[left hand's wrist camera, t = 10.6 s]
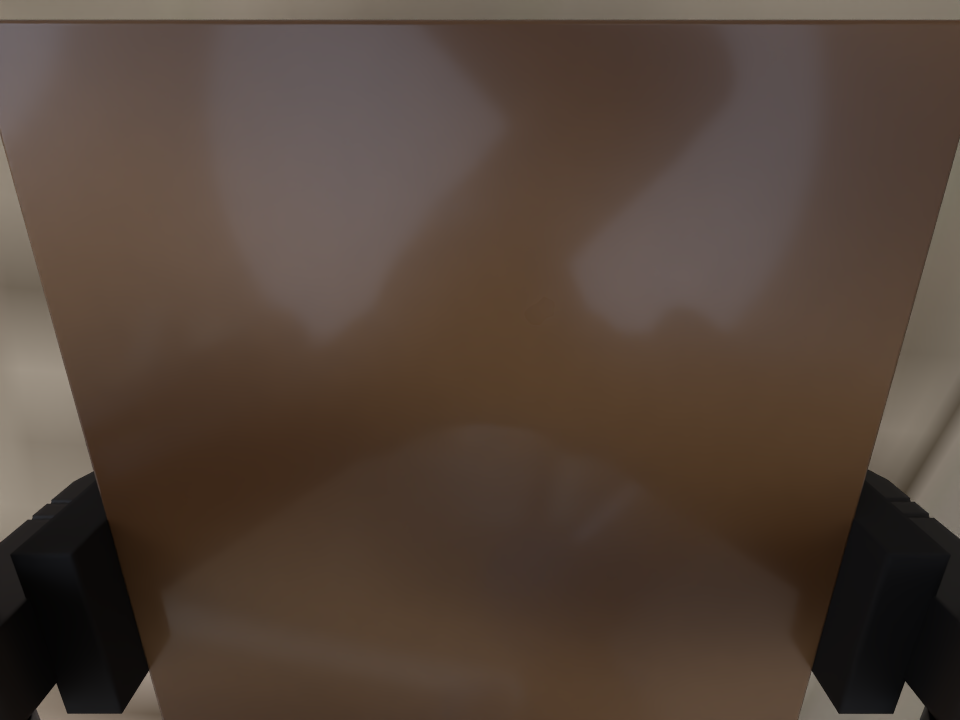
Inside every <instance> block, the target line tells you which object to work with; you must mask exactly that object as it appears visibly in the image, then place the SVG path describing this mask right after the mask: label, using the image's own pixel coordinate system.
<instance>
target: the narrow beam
mask: <svg viewBox="0 0 960 720" xmlns="http://www.w3.org/2000/svg"><path fill="white" fill-rule="evenodd" d="M0 135H1V138H2V142H3V146H4V149H5V153H6V157H7V160H8V164H9V167H10V171H11V175H12V178H13V182H14V185H15V189H16V193H17V196H18V200H19V203H20V207H21V211H22V214H23V218H24V221H25V225H26V229H27V232H28V236H29V239H30V243H31V247H32V250H33V254H34V257H35V261H36V265H37V268H38V272H39V275H40V279H41V283H42V286H43V290H44V294H45V297H46V301H47V304H48V308H49V312H50V315H51V319H52V322H53V326H54V330H55V333H56V337H57V340H58V344H59V348H60V351H61V355H62V358H63V362H64V366H65V369H66V373H67V376H68V380H69V384H70V387H71V391H72V394H73V398H74V402H75V405H76V409H77V413H78V416H79V420H80V423H81V427H82V431H83V434H84V438H85V441H86V445H87V449H88V452H89V456H90V459H91V463H92V467H93V470H94V474H95V477H96V481H97V485H98V488H99V492H100V495H101V499H102V503H103V506H104V510H105V513H106V517H107V520H108V524H109V528H110V531H111V535H112V538H113V542H114V546H115V549H116V553H117V556H118V560H119V564H120V567H121V571H122V575H123V578H124V582H125V585H126V589H127V593H128V596H129V600H130V603H131V607H132V611H133V614H134V618H135V621H136V625H137V629H138V632H139V636H140V639H141V643H142V647H143V650H144V654H145V657H146V661H147V665H148V668H149V672H150V676H151V679H152V683H153V687H154V690H155V694H156V697H157V701H158V705H159V708H160V712H161V715H162V719H163V720H798V718H799V714H800V711H801V707H802V704H803V700H804V696H805V693H806V689H807V686H808V682H809V678H810V675H811V671H812V667H813V663H814V660H815V656H816V653H817V649H818V645H819V642H820V638H821V635H822V631H823V627H824V624H825V620H826V617H827V613H828V609H829V606H830V602H831V599H832V595H833V591H834V588H835V584H836V581H837V577H838V573H839V570H840V566H841V563H842V559H843V555H844V552H845V548H846V545H847V541H848V537H849V534H850V530H851V527H852V523H853V519H854V516H855V513H856V509H857V506H858V502H859V498H860V495H861V491H862V488H863V484H864V481H865V477H866V473H867V470H868V466H869V463H870V459H871V455H872V452H873V448H874V445H875V441H876V437H877V434H878V430H879V427H880V423H881V419H882V416H883V412H884V409H885V405H886V401H887V398H888V394H889V391H890V387H891V383H892V380H893V376H894V373H895V369H896V365H897V362H898V358H899V355H900V351H901V347H902V344H903V340H904V337H905V333H906V329H907V326H908V322H909V319H910V315H911V311H912V308H913V304H914V301H915V297H916V293H917V290H918V286H919V283H920V279H921V275H922V272H923V268H924V265H925V261H926V257H927V254H928V250H929V247H930V243H931V240H932V236H933V232H934V229H935V225H936V222H937V218H938V214H939V211H940V207H941V204H942V200H943V196H944V193H945V189H946V186H947V182H948V178H949V175H950V171H951V168H952V164H953V160H954V157H955V153H956V150H957V146H958V142H959V139H960V20H0Z"/></svg>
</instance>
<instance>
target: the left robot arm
mask: <svg viewBox="0 0 960 720" xmlns="http://www.w3.org/2000/svg"><path fill="white" fill-rule="evenodd" d="M51 501H52V502H51V504H46V505H45V506H44V507H43V508H41V509H40V510H39V511H38V512H37V513H35V514H34V515H33V518H32V520H27V521H26V522H25V523H23V524H22V525H21V526H20V527H18V528H17V529H16V530H15V531H14V532H12V533H11V534H10V535H9V536H8V537H6V538H5V539H4V540H3V541H2V542H0V720H40V718H39V715H38V713H37V710H36V708H37V707H38V706H39V704H40V703H41V702H42V700H43V699H44V698H45V697H46V695H47V694H48V693H49V692H50V690H51V689H52V688H53V687H54V685H55V684H56V683H57V686H58V689H59V691H60V694H61V697H62V700H63V702H64V705H65V708H66V711H67V714H122V712H123V711H124V709H125V708H126V706H127V705H128V703H129V701H130V700H131V698H132V697H133V695H134V693H135V692H136V690H137V689H138V687H139V685H140V684H141V682H142V681H143V679H144V678H145V676H146V674H147V673H148V671H149V668H148V665H147V661H146V657H145V654H144V650H143V647H142V643H141V639H140V636H139V632H138V629H137V625H136V621H135V618H134V614H133V611H132V607H131V603H130V600H129V596H128V593H127V589H126V585H125V582H124V578H123V575H122V571H121V567H120V564H119V560H118V556H117V553H116V549H115V546H114V542H113V538H112V535H111V531H110V528H109V524H108V520H107V517H106V513H105V510H104V506H103V503H102V499H101V495H100V492H99V488H98V485H97V481H96V477H95V474H94V471H93V472H91V473H89V474H88V475H86V476H84V477H82V478H80V479H78V480H76V481H74V482H73V483H72V484H70V485H69V486H68V487H67V488H66V489H64V490H63V491H62V492H61V493H59V494H58V495H57V496H56V497H55V498H53V499H52V500H51ZM812 672H813V673H814V675H815V677H816V678H817V680H818V681H819V683H820V684H821V686H822V688H823V689H824V691H825V692H826V694H827V696H828V697H829V699H830V700H831V702H832V703H833V705H834V707H835V708H836V710H837V711H838V713H839V714H893V713H894V710H895V708H896V705H897V702H898V699H899V697H900V694H901V691H902V688H903V686H904V683H905V681H906V682H907V684H908V685H909V686H910V687H911V689H912V690H913V691H914V693H915V694H916V695H917V696H918V698H919V699H920V700H921V701H922V703H923V704H924V705H925V707H924V710H923V713H922V715H921V718H920V720H960V539H959V538H958V537H957V536H955V535H954V534H953V533H952V532H951V531H949V530H948V529H947V528H946V527H944V526H943V525H942V524H941V523H940V522H938V521H937V520H936V519H935V518H930V517H929V513H927V512H926V511H925V510H924V509H923V508H921V507H920V506H919V505H918V504H917V503H915V502H911V501H910V498H909V497H908V496H907V495H906V494H904V493H903V492H902V491H901V490H900V489H898V488H897V487H896V486H895V485H893V484H892V483H891V482H890V481H889V480H887V479H885V478H883V477H881V476H879V475H877V474H876V473H874V472H872V471H870V470H867V473H866V477H865V481H864V484H863V488H862V491H861V495H860V498H859V502H858V506H857V509H856V513H855V516H854V519H853V523H852V527H851V530H850V534H849V537H848V541H847V545H846V548H845V552H844V555H843V559H842V563H841V566H840V570H839V573H838V577H837V581H836V584H835V588H834V591H833V595H832V599H831V602H830V606H829V609H828V613H827V617H826V620H825V624H824V627H823V631H822V635H821V638H820V642H819V645H818V649H817V653H816V656H815V660H814V663H813V667H812Z"/></svg>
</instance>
